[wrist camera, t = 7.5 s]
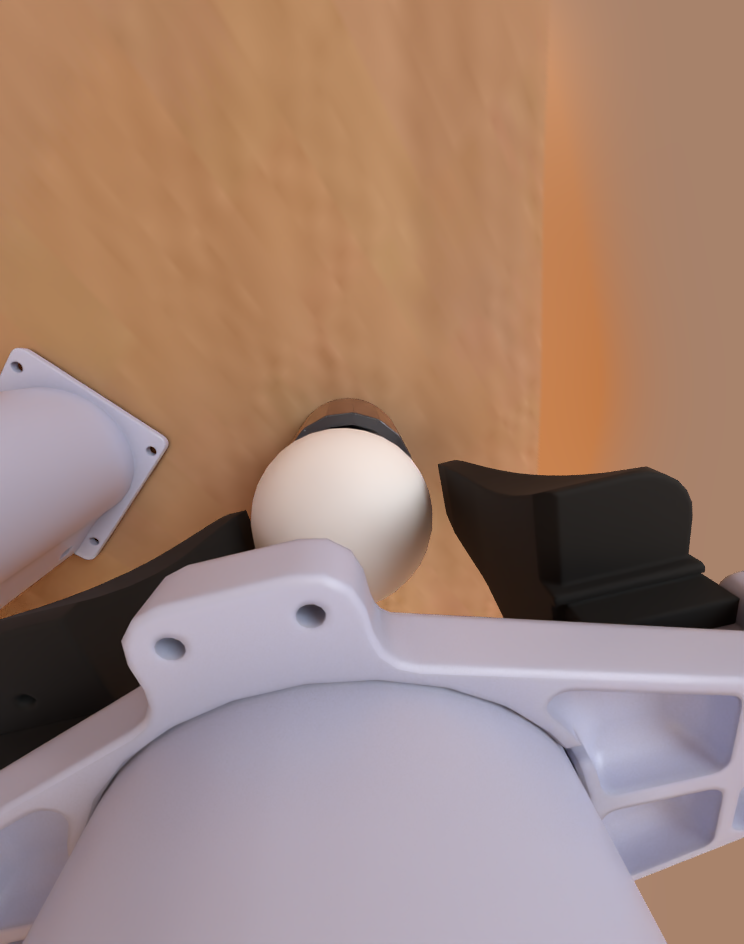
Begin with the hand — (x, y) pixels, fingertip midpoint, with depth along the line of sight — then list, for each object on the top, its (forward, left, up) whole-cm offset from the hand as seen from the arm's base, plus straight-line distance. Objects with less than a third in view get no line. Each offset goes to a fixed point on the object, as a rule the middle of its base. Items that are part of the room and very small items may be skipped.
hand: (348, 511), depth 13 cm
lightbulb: (0, 0, -8) cm, 8 cm away
